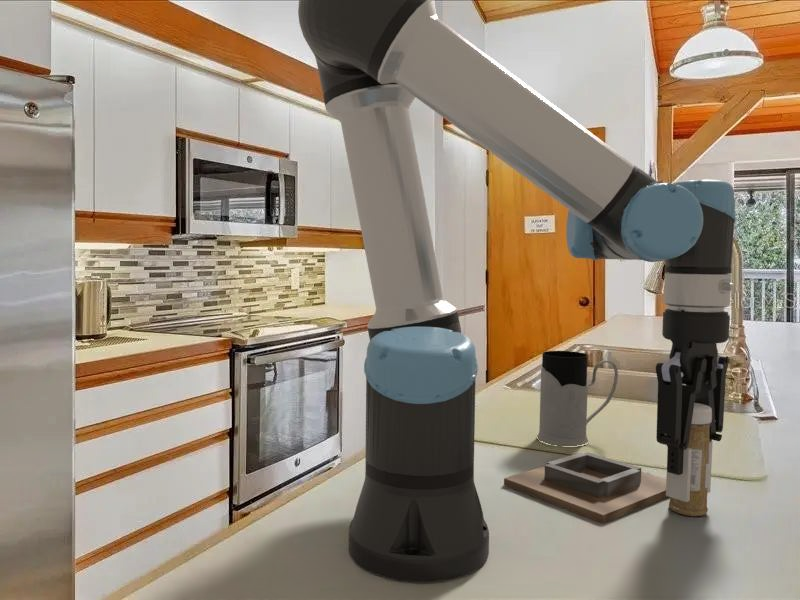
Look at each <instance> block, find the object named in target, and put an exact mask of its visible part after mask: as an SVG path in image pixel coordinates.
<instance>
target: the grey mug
mask: <svg viewBox="0 0 800 600" xmlns="http://www.w3.org/2000/svg"><path fill="white" fill-rule="evenodd" d="M541 360H542V361H541V369H540V395H539V399H540V402H539V432H538V434H537V436H536V438H537V437H538V439H539V440H540V441H543V442H545V443H548V444H551V445H557V446H577V445H582V444H585V443H587V442H588V441H589V439H588V436H587V427H588V426H587V425H588V423H589V422H590V421H591V420H592V419H593V418H595V417H596V416H597V415H598V414H599V413H600V412H601V411H603V409H605V407H606V406H607V405H608V404H609V403H610V402H611V400H612V398H613V396H614V394H615V391H616V388H617V385H618V378H619V374H618V373H619V371H618V370H619V369H618V367H617V366H616V364H615V362H613V361H611V360H607V359H604V360H600V361H599V362H597V363H596V365H595V366H594V368H593V371H592V380H591V382H589V383H587V381H588V354H587V353H584V352H579V351H573V350H571V351H569V350H548V351H544V352H542V358H541ZM604 363H608V364H610V365H611V366H612V367H613V371H614V378H613V384H612V388H611V391H610V392H609V395H608V397H606V400H604V402H603V404H601V405H600V406H599V407H598V408H597V410H595V411H594V412H593V413H592V414H591V415H589V417H588V416H587V415H588V387H590V386H593V385H594V384H595V383H596V379H597V373H598V369H599V367H600V366H601V365H602V364H604Z"/></svg>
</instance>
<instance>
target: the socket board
mask: <svg viewBox="0 0 800 600" xmlns="http://www.w3.org/2000/svg"><path fill="white" fill-rule="evenodd" d="M503 486H505V487H508V488H509V489H513V490H516V491H518V492H521V493H524V494H525V495H529V496H531V497H534V498H537V499H538V500H541V501H544V502H547V503H549V504H552V505H554V506H557V507H560V508H563V509H565V510H567V511H569V512H570V511H571V513H575V514H579V515H580V516H582V517H586V518H588V519H590V520H593V521H597V522H598V523H601V524H605V523H607V522H610V521H612V520H615V519H618V518H619V517H622V516H624V515H628V514H629V513H631V512H635V511H637V510H639V509H641V508H643V507H647V506H648V505H651V504H653V503H656V502H659V501H660V500H661V501H662V500H663V499H666V498H667V497H668V496H666V477H661V476H658V475H654V474H652V473H648V472H644V471H642V467H640V466H636V465H632V464H630V463H629V464H628V463H626V462H622V461H619V460H616V459H612V458H608V457H605V456H601V455H598V454H595V453H592V452H586V453H585V452H584V453H581V452H579V453H575V454H572V455H567V456H565V457H562V458H561V457H560V458H558V459H557V458H556V459H555V460H551V461H547V462H546V464H545V465H544V466H541V467H537V468H533V469H531V470H527V471H523V472H520V473H517V474H513V475H509V476H506V477H504V478H503Z"/></svg>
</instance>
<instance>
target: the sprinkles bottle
mask: <svg viewBox="0 0 800 600" xmlns="http://www.w3.org/2000/svg"><path fill="white" fill-rule="evenodd" d="M711 422H712V409H711V407H709V406H707V405H704V404H699V403H694V409H693V415H692V422H691V428H690V435H689V441H688V448H692V459H691V482H690V501H688V502H684V501H681V500H678V499H675V498H672V497H669V501H668V507H669V508H670V510H672V511H673V512H675V513H677V514H679V515H682V516H687V517H688V516H689V517H700V516H701V517H702V516H705V515H706V514H707V513H708V511H709V508H708V493H707V489H708V478H709V463H708V459H709V429H710V428H709V427H710V423H711Z"/></svg>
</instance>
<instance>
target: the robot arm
mask: <svg viewBox="0 0 800 600" xmlns="http://www.w3.org/2000/svg"><path fill="white" fill-rule="evenodd" d="M297 13H298V21H299V22H298V23H299V27H300V30H301V33H302V36H303V38H304V39H305V42H306V43H307V45H308V47H309V48H310V50H311V52H312V53H313V55H314V58H315V61H316V62H315V63H316V66H317V71H318V76H319V82H320V85H321V86H320V88H321V91H322V97H323V100H324V101H323V102H324V107H325V111H326V113H328V114H330V115H331V116H332V117H333V118H335V119H337V120H338V121H339V123H340V124H341V125H340V126H341V130H342V135H343V142H344V147H345V152H346V157H347V164H348V168H349V174H350V179H351V184H352V189H353V194H354V199H355V200H354V201H355V203H356V204H355V205H356V210H357V216H358V221H359V226H360V231H361V236H362V241H363V247H364V252H365V259H366V263H367V269H368V273H369V279H370V283H371V290H372V295H373V300H374V304H375V311H374V314H373V316H372V317H371V318H370V320H369V321H368V323H367V325H366V326H367V332H368V333H367V334H368V337H369V342H368V344H367V347H366V357H365V360H364V364H363V371H364V375H365V380H366V382H365V390H366V391H365V458H364V459H365V476H364V482H363V484H362V488H361V491H360V494H359V497H358V501H357V503H356V507H355V511H354V514H353V518H352V520H351V522H350V524H349V528H348V554H349V556H350V558H351V560H353V562H354V563H355V564H357V566H359V567H360V568H362V569H363V570H364V571H366V572H367V571H368V572H370V573H371V574H374V575H377V576H380V577H382V578H386V579H391V580H397V581H402V582H403V581H404V582H413V583H431V582H432V583H433V582H442V581H448V580H453V579H457V578H460V577H465V576H466V575H469V574H471V573H473V572H475V571H477V570H478V569H479V568H481V567H482V566H483V565H484V564H485V563H486V562H487V560H488V557H489V555H490V554H489V553H490V533H489V532H490V531H489V527H488V524H487V521H486V520H485V518H484V513H483V508H482V505H481V501H480V497H479V493H478V491H477V488H476V484H475V474H474V473H475V469H474V468H475V430H476V429H475V423H476V422H475V421H476V419H475V417H476V415H475V414H476V378H477V376H478V370H479V369H478V368H479V366H478V360H477V356H476V347H475V345H474V342H473V341H472V339H470V337H468V336H467V335H465V334H464V333H463V332H462V328H461V323H460V318H459V312H458V308H457V307H456V306H455V305H453V304H452V303H450V302H449V301H447V300H446V299H445V297H444V296H443V291H442V285H441V280H440V279H441V278H440V275H439V269H438V264H437V258H436V257H437V256H436V253H435V247H434V243H433V237H432V230H431V226H430V220H429V216H428V215H429V213H428V210H427V203H426V200H425V199H426V198H425V193H424V187H423V182H422V177H421V171H420V166H419V160H418V156H417V150H416V149H417V148H416V145H415V138H414V132H413V128H412V121H411V117H410V106H411V105H412V103H413V102H414V100H415V99H417V100H419V101H420V102H421V103H423V104H424V105H426V106H427V107H428V108H429V109H431V110H432V111H434V112H436V114H438V115H439V116H440V117H442V118H443V119H444V120H445V121H448V122H449V123H450V124H452V125H453V126H454V127H456V128H457V129H458V130H460V131H461V132H462V133H464V134H465V135H466V136H468V137H469V138H470V139H472V140H474V142H476V143H477V144H479V145H480V146H481V147H483V148H484V149H486V150H487V151H488V152H490V153H491V154H492V155H494V156H495V157H496V158H498V159H499V160H501V161H502V162H504V164H506V165H507V166H508V167H510V168H511V169H513V170H514V171H515V172H517V173H518V174H520V175H521V176H522V177H523V178H525V179H526V180H528V181H529V182H530V183H531V184H533V185H534V186H536V187H537V188H539V189H540V190H542V192H544V193H546V194H547V195H548V196H550V197H551V198H552V199H553V200H555V201H557V202H558V203H559V204H560V205H562V206H563V207H564V208H566V209H567V210H568V212H567V218H566V237H565V238H566V245H567V249H568V252H569V254H570V255H571V256H572V257H573V258H575V259H588V260H592V261H598V260H625V261H627V260H629V261H630V260H631V261H633V260H637V261H644V262H647V263H654V262H663V261H664V265H665V266H664V283H663V304H664V305H666V306H667V308H665V309H664V311H663V312H662V328H661V329H662V331H661V334H662V336H663V338H664V339H666V340H668V341H669V340H670V341H671V343H672V344H671V348H670V349H671V350H670V352H669V360H668V361H667V362H665V363H663V362H658V363H656V365H655V373H656V379H657V403H656V404H657V406H656V407H657V409H656V410H657V411H656V442H657V443H658V444H661V445H665V446H666V447H667V457H666V477H665V479H666V496H668V497H669V498H670V497H672V498H675V499H678V500H681V501H684V502H688V501H690V482H691V459H692V448H688V441H689V435H690V428H691V422H692V415H693V409H694V403H699V404H704V405H707V406H709V407H711V409H712V422H711V423H710V427H709V428H710V429H709V459H708V463H709V478H708V489H707V494H708V493H711V484H712V463H713V462H712V461H713V441H715V442H721V440H722V438H723V434H720V433H722V432H723V430H724V418H725V417H724V416H725V415H724V414H725V398H726V397H725V395H726V384H727V383H726V381H727V379H726V378H727V372H728V367H729V363H730V357H729V356H727V355H720V354H719V351H718V347H717V344H722V343H726V342H728V340H729V339H730V321H731V320H730V319H731V318H730V317H731V314H730V313H729V312H728V311H726V310H725V308H728V307H729V306H730V305H731V291H733V290H734V288H735V285H734V283H733V282H732V272H733V271H732V270H733V268H732V267H733V265H732V264H733V263H732V262H733V250H734V236H735V235H734V234H735V223H736V221H737V217H736V200H735V198H736V197H735V189H734V187H733V185H732V184H731V183H730V182H728V181H726V180H719V179H718V180H717V179H702V180H701V179H698V180H697V179H696V180H681V181H676V182H672V183H671V182H664V181H657V180H656V179H655V178H653V177H652V176H651V175H650V174H649V173H647V172H645V171H644V170H643V169H641V168H640V167H638V166H637V165H635V164H633V163H632V162H631V161H629V160H628V159H627V158H626V157H624V156H623V155H622V154H620V153H619V152H618V151H617V150H615V149H613V148H612V147H611V146H609V144H607V143H606V142H604V141H603V140H601V139H600V138H599V137H597V135H594V133H592V132H591V131H589V130H588V129H587V128H585V127H584V126H583V125H581V124H580V123H579V122H577V121H576V120H575V119H573V118H572V117H571V116H569V114H567V113H565V112H564V111H563V110H562V109H560V108H559V107H557V106H556V105H555V104H553V103H552V101H551V102H550V101H549V100H548V99H546V97H544V96H542V95H541V94H540V93H538V92H537V91H536V90H534V89H533V88H532V87H531V86H529V85H528V84H527V83H525V82H524V81H522V80H521V79H520V78H518V77H517V75H514V74H513V73H511V72H510V71H509V70H507V68H505V67H504V66H503V65H501V64H500V63H498V62H497V61H496V60H494V59H493V58H492V57H490V56H489V55H487V54H486V53H485V52H483V51H482V50H481V49H480V48H478V47H476V46H475V44H473V43H471V42H470V41H469V40H468V39H466V38H465V37H463V36H462V35H461V34H459V33H458V32H457V31H455V30H454V29H453V28H451V26H449V25H447V24H446V23H445V22H443V21H442V20H441V19H439V18H438V15H437V14H438V13H437V9H436V4H435V2H434V0H298V12H297Z"/></svg>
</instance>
